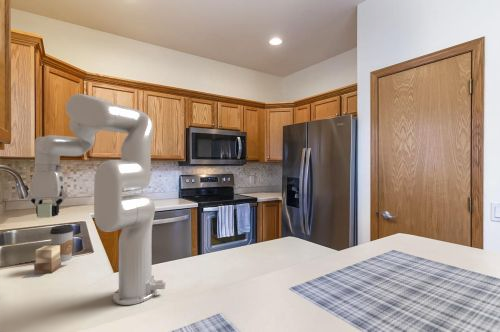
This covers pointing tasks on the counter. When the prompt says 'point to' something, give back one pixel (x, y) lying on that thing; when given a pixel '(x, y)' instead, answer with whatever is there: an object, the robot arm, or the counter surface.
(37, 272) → the walnut block
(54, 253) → the maple block
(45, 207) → the sage block
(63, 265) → the flat square pad
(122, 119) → the robot arm
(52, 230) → the coffee cup
